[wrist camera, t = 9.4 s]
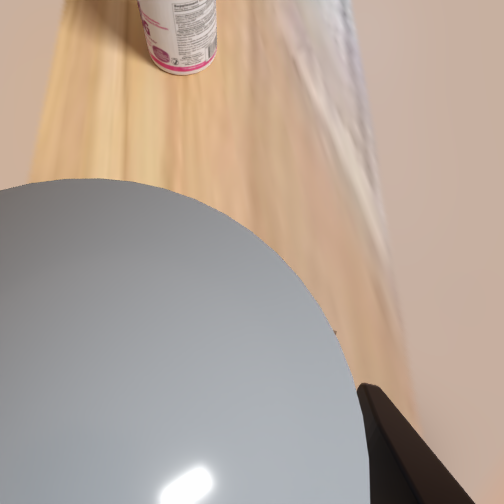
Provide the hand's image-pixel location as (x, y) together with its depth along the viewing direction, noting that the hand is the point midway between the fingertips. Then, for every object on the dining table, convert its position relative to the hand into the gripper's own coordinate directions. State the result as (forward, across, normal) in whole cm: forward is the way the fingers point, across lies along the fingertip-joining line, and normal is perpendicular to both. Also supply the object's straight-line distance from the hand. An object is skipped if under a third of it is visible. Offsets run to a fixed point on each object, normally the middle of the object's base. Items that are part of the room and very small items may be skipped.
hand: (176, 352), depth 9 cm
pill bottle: (+23, +7, -6) cm, 25 cm away
